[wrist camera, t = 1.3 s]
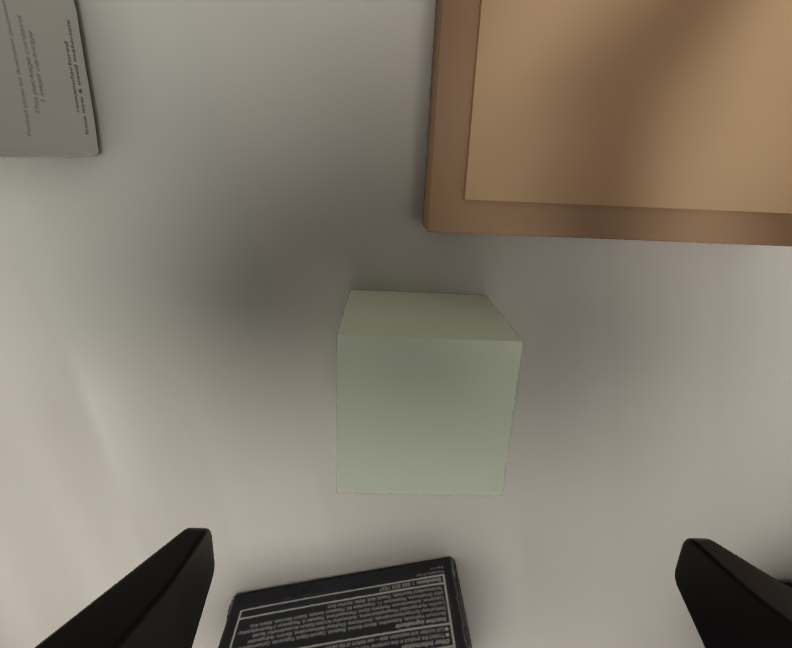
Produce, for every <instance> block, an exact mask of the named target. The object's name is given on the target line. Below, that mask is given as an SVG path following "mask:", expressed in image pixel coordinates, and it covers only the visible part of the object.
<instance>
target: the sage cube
mask: <svg viewBox="0 0 792 648" xmlns="http://www.w3.org/2000/svg"><path fill="white" fill-rule="evenodd" d="M522 347H523V341H522V339H521V338H520V337H519V336H518V334H517V333H516V332H515V331H514V330H513V328H512V327H511V326H510V325H509V323H508V322H507V321H506V320H505V318H504V317H503V316H502V315H501V313H500V312H499V311H498V310H497V308H496V307H495V306H494V305H493V303H492V302H491V301H490V300H489V298H488V297H487V296H486V295H473V294H445V293H418V292H390V291H363V290H350V294H349V297H348V300H347V304H346V307H345V310H344V314H343V317H342V320H341V324H340V327H339V330H338V334H337V492H341V493H386V494H430V495H474V496H502V492H503V485H504V478H505V470H506V463H507V456H508V449H509V441H510V434H511V427H512V420H513V412H514V405H515V398H516V391H517V384H518V376H519V369H520V362H521V355H522Z"/></svg>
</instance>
